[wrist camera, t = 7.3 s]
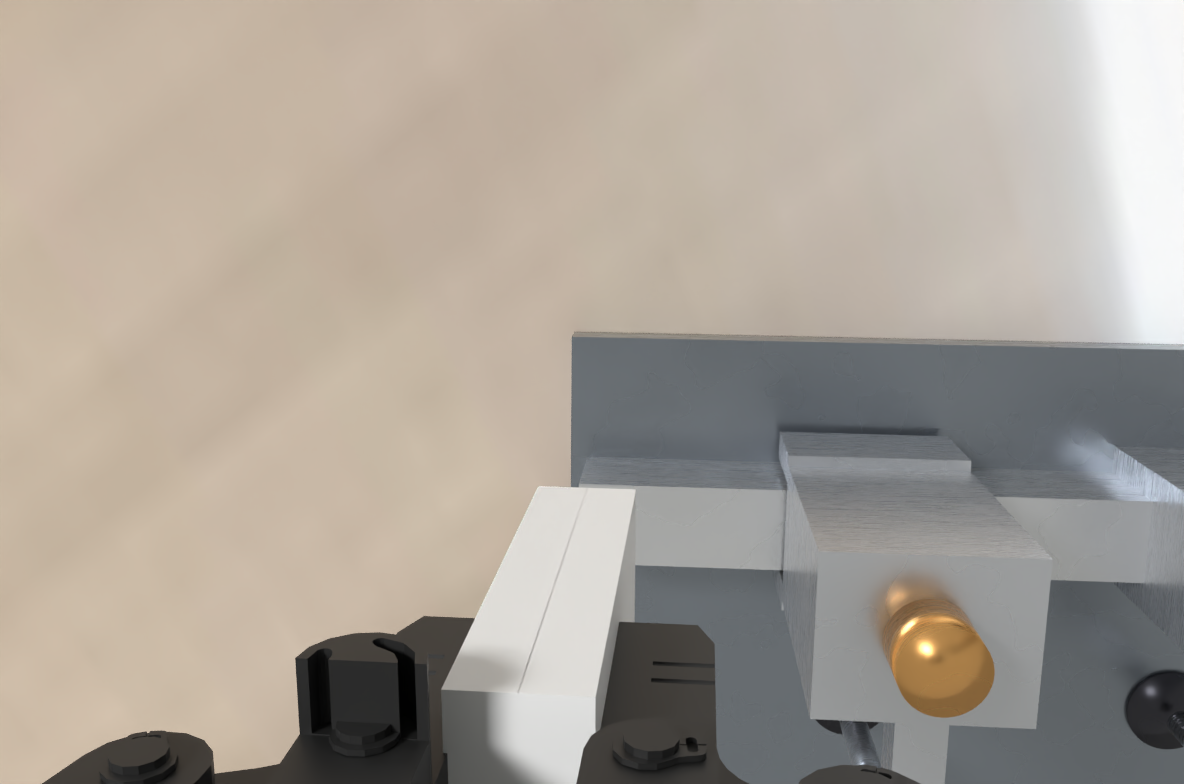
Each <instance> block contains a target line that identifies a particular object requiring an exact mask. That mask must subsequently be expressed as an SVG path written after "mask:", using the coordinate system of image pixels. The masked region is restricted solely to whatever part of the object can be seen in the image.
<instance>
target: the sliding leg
mask: <svg viewBox="0 0 1184 784" xmlns="http://www.w3.org/2000/svg"><path fill="white" fill-rule="evenodd" d="M779 460H780V463H781V466H782V469H783V472H784V475H785V477H786V480H787V503H786V524H785V545H784V567H783V570H774V571H773V576H774V580H775V585H776V589H777V593H778V598H779V602H780V606H781V610H784V611H785V616H786V620H787V624H788V628H789V633H790V637H791V641H792V645H793V650H794V654H795V658H796V662H797V666H798V671H799V675H800V679H801V683H802V688H803V692H804V696H805V700H806V704H807V709H808V713H809V717H810V719H820V720H839V723H840V726H841V730H842V733H843V737H844V740H845V744H846V747H847V751H848V754H849V758H850V761H851V765H871V766H877V768H880V767H882V768H885V769H888V770H892V771H894V772H897V773H899V774H901V775H903V776H905V777H908V778H910V779H912V780H914V781H916V782H918V783H920V784H945V773H946V761H947V748H948V736H949V725H955V726H977V727H1000V728H1022V729H1036V724H1037V714H1038V704H1039V694H1040V684H1041V674H1042V663H1043V653H1044V643H1045V633H1046V623H1047V613H1048V603H1049V592H1050V582H1051V572H1052V562H1053V559H1052V558H1051V557H1050V556H1049V555H1048V554H1047V553H1046V552H1045V551H1044V549H1043V548H1042V547H1041V546H1040V545H1039V544H1038V543H1037V542H1036V541H1035V540H1034V539H1033V538H1032V537H1031V536H1030V534H1029V533H1028V532H1027V531H1026V530H1025V529H1024V528H1023V527H1022V526H1021V525H1020V524H1019V523H1018V522H1017V521H1016V519H1015V518H1014V517H1013V516H1012V515H1011V514H1010V513H1009V512H1008V511H1007V510H1006V509H1005V508H1004V507H1003V506H1002V504H1001V503H1000V502H999V501H998V500H997V499H996V498H995V497H994V496H993V495H992V494H991V493H990V492H989V491H988V489H987V488H986V487H985V486H984V485H983V484H982V483H981V482H980V481H979V480H978V479H977V478H976V477H975V476H974V474H973V473H972V472H971V460H970V459H969V458H968V457H967V456H966V455H965V454H964V453H963V452H962V451H961V450H960V449H959V447H958V446H957V445H956V444H955V443H954V442H953V441H952V440H951V439H950V438H949V437H948V436H917V435H880V434H843V433H806V432H780V439H779ZM867 722H884V728H883V742H882V757H881V763H880V760H879V757H878V754H877V751H876V748H875V745H874V742H873V739H872V736H871V733H870V730H869V727H868V724H867Z"/></svg>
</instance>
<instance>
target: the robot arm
mask: <svg viewBox="0 0 1184 784" xmlns="http://www.w3.org/2000/svg"><path fill="white" fill-rule="evenodd" d="M635 539H636V489H610V488H579V487H548V486H538V488H537V490H536V492H535V494H534V496H533V498H532V501H531V503H530V505H529V507H528V509H527V511H526V513H525V515H524V517H523V519H522V521H521V524H520V526H519V528H518V530H517V532H516V534H515V536H514V538H513V540H512V542H511V544H510V547H509V549H508V551H507V553H506V555H505V557H504V559H503V561H502V563H501V565H500V567H499V570H498V572H497V574H496V576H495V578H494V580H493V582H492V584H491V586H490V588H489V591H488V593H487V595H486V597H485V599H484V601H483V603H482V605H481V607H480V609H479V611H478V614H477V616H476V618H453V617H430V616H424V617H422V618H420V619H419V620H417V621H415V622H414V623H412V624H411V625H409V626H407V627H406V628H404V629H403V630H401V631H399V632H398V633H397V634H396V635H394V634H387V633H380V632H379V633H355V634H349V635H345V636H340V637H335V638H330V639H327V640H325V641H323V642H320V643H318V644H315V645H313V646H311V647H309V648H307V649H306V650H305V651H304V652H302V653H301V654H300V655H299V656H297V657H296V658H295V659H296V676H297V693H298V709H299V726H300V735H299V736H298V738H297V739H296V741H295V742H294V744H293V745H292V747H291V748H290V750H289V751H288V753H287V754H286V756H285V757H284V759H283V760H282V762H281V763H280V764H277V765H272V766H267V767H262V768H256V769H248V770H240V771H233V772H225V773H217V774H214V762H213V751H212V750H211V748H210V747H209V746H208V745H207V744H206V742H205V741H204V740H202V739H199V738H197V737H194V736H192V735H189V734H186V733H175V732H166V731H150V733H147V732H141V733H135V734H131V735H129V736H128V737H126V738H122V739H119V740H116V741H112V742H109V743H106V744H105V745H103V746H101V747H99V748H97V749H95V750H93V751H91V752H89V753H87V754H85V755H84V756H82V757H81V758H79V759H78V760H76V761H75V762H73V763H72V764H70V765H69V766H67V767H66V768H64V769H63V770H62V771H60V772H59V773H57V774H56V775H54V776H53V777H51V778H50V779H48V780H47V781H45V782H44V783H42V784H749V783H747V782H745V781H743V780H741V779H739V778H738V777H737V776H736V775H734V774H733V773H732V772H731V771H729V770H728V769H727V768H726V767H725V765H724V764H723V762H722V761H721V760H720V758H719V754H718V751H717V740H716V690H715V644H714V642H713V641H712V640H711V639H710V638H709V637H708V636H707V635H706V634H705V633H704V631H703V630H702V629H701V628H700V627H699V626H698V625H685V624H662V623H639V622H635ZM799 784H920V783H918V782H916V781H914V780H912V779H910V778H908V777H905V776H903V775H901V774H899V773H897V772H894V771H892V770H888V769H885V768H882V767H880V768H877V766H871V765H838V766H833V767H828V768H823V769H818V770H816V771H815V772H813V773H811V774H809V775H808V776H806V777H804V778H803V779H801V780H800V782H799Z"/></svg>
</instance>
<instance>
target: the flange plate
mask: <svg viewBox="0 0 1184 784" xmlns="http://www.w3.org/2000/svg"><path fill="white" fill-rule="evenodd" d="M780 432H806V433H843V434H880V435H917V436H948V437H949V438H950V439H951V440H952V441H953V442H954V443H955V444H956V445H957V446H958V447H959V449H960V450H961V451H962V452H963V453H964V454H965V455H966V456H967V457H968V458H969V459H970V460H971V472H972V473H973V474H974V476H975V477H976V478H977V479H978V480H979V481H980V482H981V483H982V484H983V485H984V486H985V487H986V488H987V489H988V491H989V492H990V493H991V494H992V495H993V496H994V497H995V498H996V499H997V500H998V501H999V502H1000V503H1001V504H1002V506H1003V507H1004V508H1005V509H1006V510H1007V511H1008V512H1009V513H1010V514H1011V515H1012V516H1013V517H1014V518H1015V519H1016V521H1017V522H1018V523H1019V524H1020V525H1021V526H1022V527H1023V528H1024V529H1025V530H1026V531H1027V532H1028V533H1029V534H1030V536H1031V537H1032V538H1033V539H1034V540H1035V541H1036V542H1037V543H1038V544H1039V545H1040V546H1041V547H1042V548H1043V549H1044V551H1045V552H1046V553H1047V554H1048V555H1049V556H1050V557H1051V558H1052V559H1053V562H1052V572H1051V582H1050V592H1049V603H1048V613H1047V623H1046V633H1045V643H1044V653H1043V663H1042V674H1041V684H1040V694H1039V704H1038V714H1037V724H1036V729H1022V728H1000V727H977V726H955V725H949V736H948V748H947V761H946V773H945V784H1184V747H1183V746H1182V744H1181V743H1180V742H1179V741H1178V740H1177V739H1176V737H1175V736H1174V735H1173V734H1172V733H1171V732H1170V730H1169V729H1168V726H1167V722H1168V719H1169V718H1170V716H1171V715H1172V714H1174V713H1176V712H1180V711H1184V652H1183V651H1182V650H1181V649H1180V648H1179V647H1178V646H1177V645H1176V644H1175V643H1174V642H1173V641H1172V640H1171V639H1170V638H1169V637H1168V636H1167V635H1166V634H1165V633H1164V632H1163V631H1162V630H1161V629H1160V628H1159V627H1158V626H1157V625H1155V624H1154V623H1153V622H1152V621H1151V620H1150V619H1149V618H1148V617H1147V616H1146V615H1145V614H1144V613H1143V612H1142V611H1141V610H1140V609H1139V608H1138V607H1137V606H1136V605H1135V604H1134V603H1133V602H1132V601H1131V600H1130V599H1129V598H1128V597H1127V596H1126V595H1125V594H1124V593H1123V592H1122V591H1121V590H1120V589H1119V588H1118V587H1117V586H1116V585H1115V584H1114V583H1113V582H1124V583H1144V575H1145V567H1146V558H1147V550H1148V541H1149V532H1150V524H1151V515H1152V507H1153V501H1152V500H1150V499H1149V498H1147V497H1146V496H1145V495H1143V494H1142V493H1141V492H1139V491H1138V490H1136V489H1135V488H1134V487H1132V486H1131V485H1129V484H1128V483H1127V482H1125V481H1124V480H1123V479H1121V478H1120V477H1118V476H1117V475H1116V474H1114V473H1113V472H1112V471H1113V462H1114V453H1115V447H1148V448H1184V345H1174V344H1127V343H1080V342H1032V341H985V340H937V339H890V338H843V337H795V336H748V335H700V334H653V333H606V332H574V334H573V336H572V407H571V487H579V488H610V489H636V539H635V622H639V623H662V624H685V625H698V626H699V627H700V628H701V629H702V630H703V631H704V633H705V634H706V635H707V636H708V637H709V638H710V639H711V640H712V641H713V642H714V644H715V690H716V740H717V751H718V754H719V758H720V760H721V761H722V762H723V764H724V765H725V767H726V768H727V769H728V770H729V771H731V772H732V773H733V774H734V775H736V776H737V777H738V778H739V779H741V780H743V781H745V782H747V783H749V784H799V782H800V780H801V779H803V778H804V777H806V776H808V775H809V774H811V773H813V772H815V771H816V770H818V769H823V768H828V767H833V766H838V765H851V761H850V758H849V754H848V751H847V747H846V744H845V740H844V737H843V733H842V730H841V726H840V723H839V720H820V719H810V717H809V713H808V709H807V704H806V700H805V696H804V692H803V688H802V683H801V679H800V675H799V671H798V666H797V662H796V658H795V654H794V650H793V645H792V641H791V637H790V633H789V628H788V624H787V620H786V616H785V611H784V610H781V606H780V602H779V598H778V593H777V589H776V585H775V580H774V576H773V571H774V570H783V567H784V545H785V524H786V503H787V480H786V477H785V475H784V472H783V469H782V466H781V463H780V460H779V439H780ZM867 724H868V727H869V730H870V733H871V736H872V739H873V742H874V745H875V748H876V751H877V754H878V757H879V760H880V763H881V757H882V742H883V728H884V722H867Z"/></svg>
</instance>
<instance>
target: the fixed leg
mask: <svg viewBox="0 0 1184 784" xmlns="http://www.w3.org/2000/svg"><path fill="white" fill-rule="evenodd" d="M1112 472H1113V473H1114V474H1116V475H1117V476H1118V477H1120V478H1121V479H1123V480H1124V481H1125V482H1127V483H1128V484H1129V485H1131V486H1132V487H1134V488H1135V489H1136V490H1138V491H1139V492H1141V493H1142V494H1143V495H1145V496H1146V497H1147V498H1149V499H1150V500H1152V501H1153V507H1152V515H1151V524H1150V532H1149V541H1148V550H1147V558H1146V567H1145V575H1144V583H1124V582H1113V583H1114V584H1115V585H1116V586H1117V587H1118V588H1119V589H1120V590H1121V591H1122V592H1123V593H1124V594H1125V595H1126V596H1127V597H1128V598H1129V599H1130V600H1131V601H1132V602H1133V603H1134V604H1135V605H1136V606H1137V607H1138V608H1139V609H1140V610H1141V611H1142V612H1143V613H1144V614H1145V615H1146V616H1147V617H1148V618H1149V619H1150V620H1151V621H1152V622H1153V623H1154V624H1155V625H1157V626H1158V627H1159V628H1160V629H1161V630H1162V631H1163V632H1164V633H1165V634H1166V635H1167V636H1168V637H1169V638H1170V639H1171V640H1172V641H1173V642H1174V643H1175V644H1176V645H1177V646H1178V647H1179V648H1180V649H1181V650H1182V651H1183V652H1184V448H1148V447H1115V453H1114V462H1113V471H1112ZM1167 726H1168V729H1169V730H1170V732H1171V733H1172V734H1173V735H1174V736H1175V737H1176V739H1177V740H1178V741H1179V742H1180V743H1181V744H1182V746H1183V747H1184V711H1180V712H1176V713H1174V714H1172V715H1171V716H1170V718H1169V719H1168V722H1167Z"/></svg>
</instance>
